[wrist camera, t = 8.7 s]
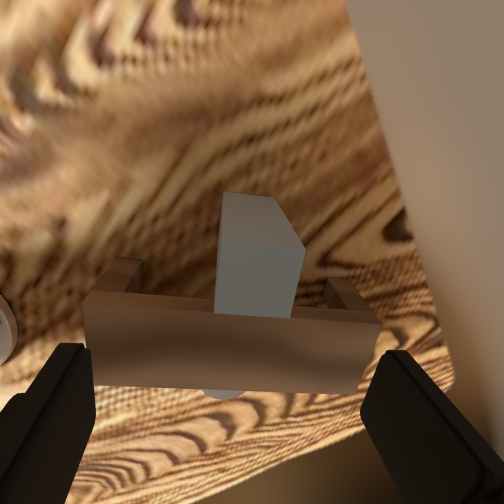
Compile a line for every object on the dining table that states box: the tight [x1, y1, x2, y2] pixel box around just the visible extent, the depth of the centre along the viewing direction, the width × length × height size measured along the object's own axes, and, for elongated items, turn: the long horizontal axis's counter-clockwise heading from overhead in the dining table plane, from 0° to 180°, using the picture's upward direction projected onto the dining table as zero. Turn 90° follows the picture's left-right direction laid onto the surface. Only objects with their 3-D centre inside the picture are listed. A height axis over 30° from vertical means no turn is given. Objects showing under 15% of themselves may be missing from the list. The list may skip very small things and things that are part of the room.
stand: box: [82, 257, 383, 395], centre depth 24 cm, size 7×20×6 cm, turn 82°
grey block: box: [214, 191, 306, 319], centre depth 21 cm, size 16×4×10 cm, turn 172°
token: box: [202, 389, 245, 400], centre depth 30 cm, size 5×5×2 cm
